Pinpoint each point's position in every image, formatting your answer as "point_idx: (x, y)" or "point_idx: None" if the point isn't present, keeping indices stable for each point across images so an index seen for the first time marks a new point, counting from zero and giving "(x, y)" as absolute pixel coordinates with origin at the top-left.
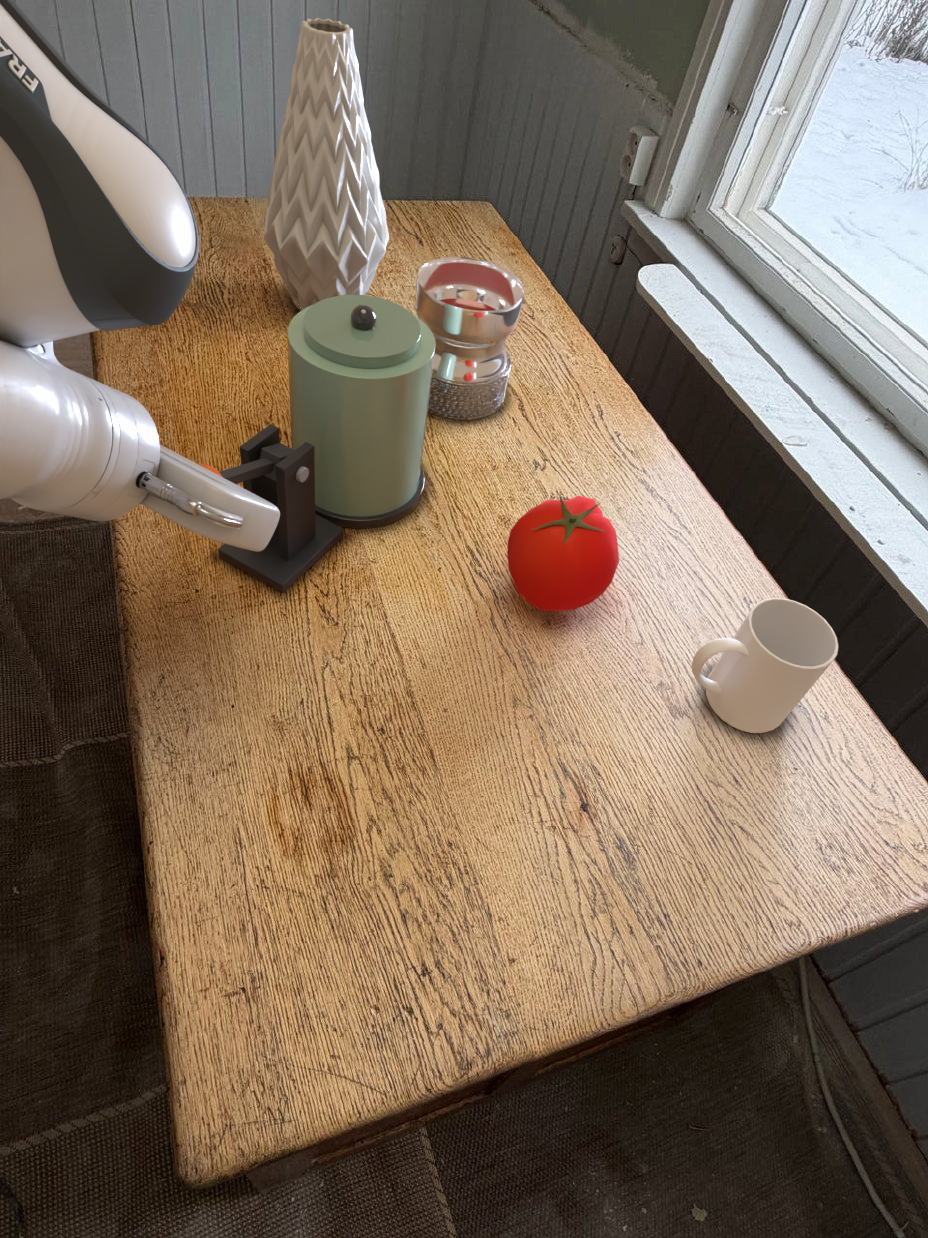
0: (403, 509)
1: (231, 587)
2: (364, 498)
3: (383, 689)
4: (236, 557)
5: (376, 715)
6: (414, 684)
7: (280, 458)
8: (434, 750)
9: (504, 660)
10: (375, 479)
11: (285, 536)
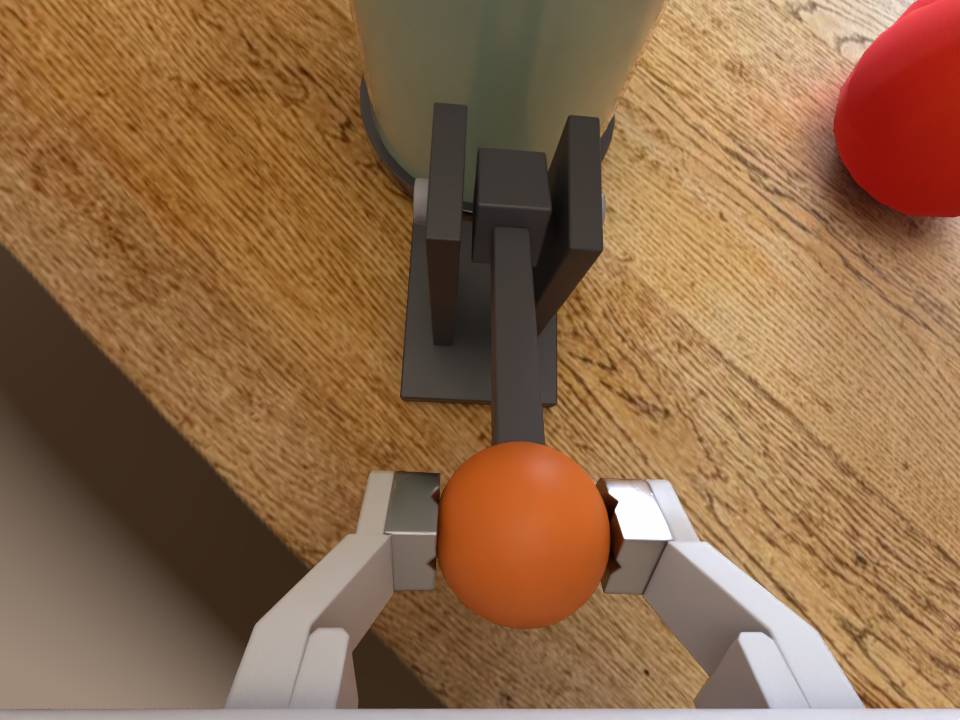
0: (611, 133)
1: (468, 448)
2: None
3: (810, 487)
4: (444, 396)
5: (835, 540)
6: (840, 449)
7: (551, 211)
8: (941, 544)
9: (910, 327)
10: (609, 109)
11: (537, 332)
